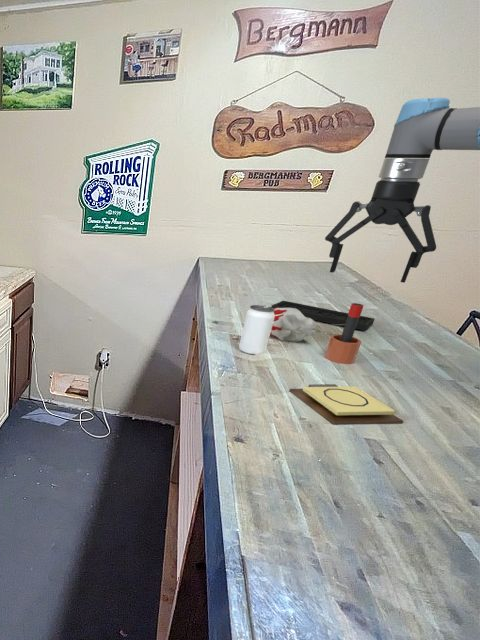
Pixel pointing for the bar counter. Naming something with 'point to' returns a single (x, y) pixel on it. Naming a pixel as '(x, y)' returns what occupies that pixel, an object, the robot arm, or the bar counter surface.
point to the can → (256, 329)
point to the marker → (351, 322)
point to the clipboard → (342, 418)
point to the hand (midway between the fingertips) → (366, 276)
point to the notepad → (348, 401)
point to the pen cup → (342, 350)
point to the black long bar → (325, 315)
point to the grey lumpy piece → (291, 325)
